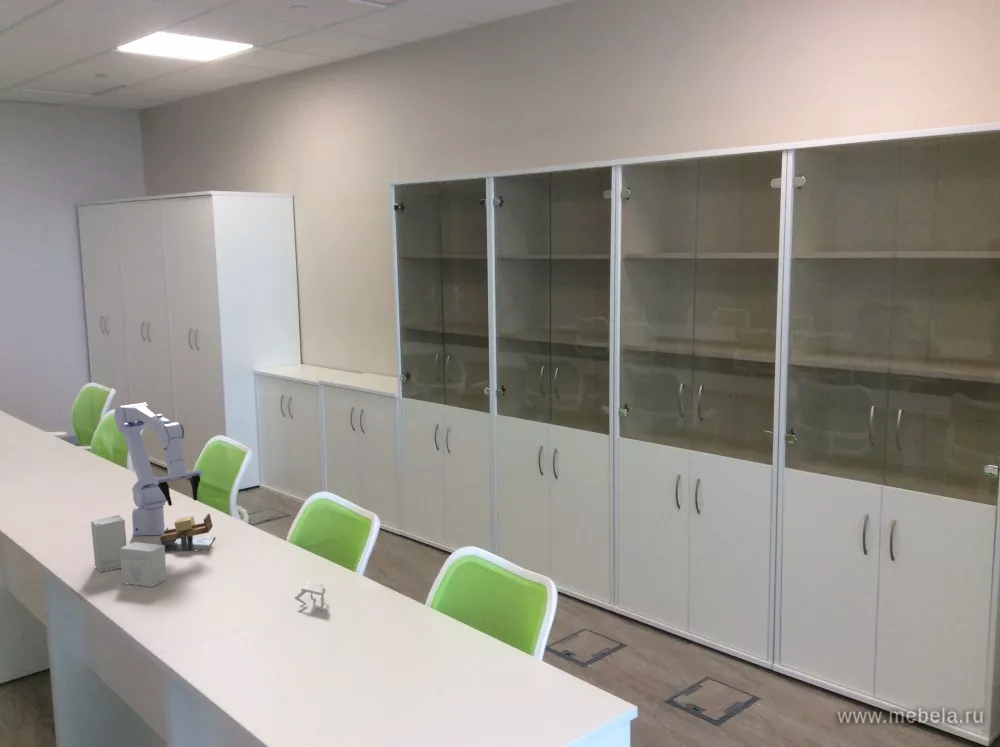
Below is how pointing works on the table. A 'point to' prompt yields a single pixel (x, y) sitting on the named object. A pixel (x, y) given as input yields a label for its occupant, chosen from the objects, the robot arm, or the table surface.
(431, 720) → the table surface
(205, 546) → the pivot stand
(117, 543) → the skincare box
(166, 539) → the balance beam
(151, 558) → the skincare box
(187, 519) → the block
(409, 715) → the table surface
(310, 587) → the origami figure
